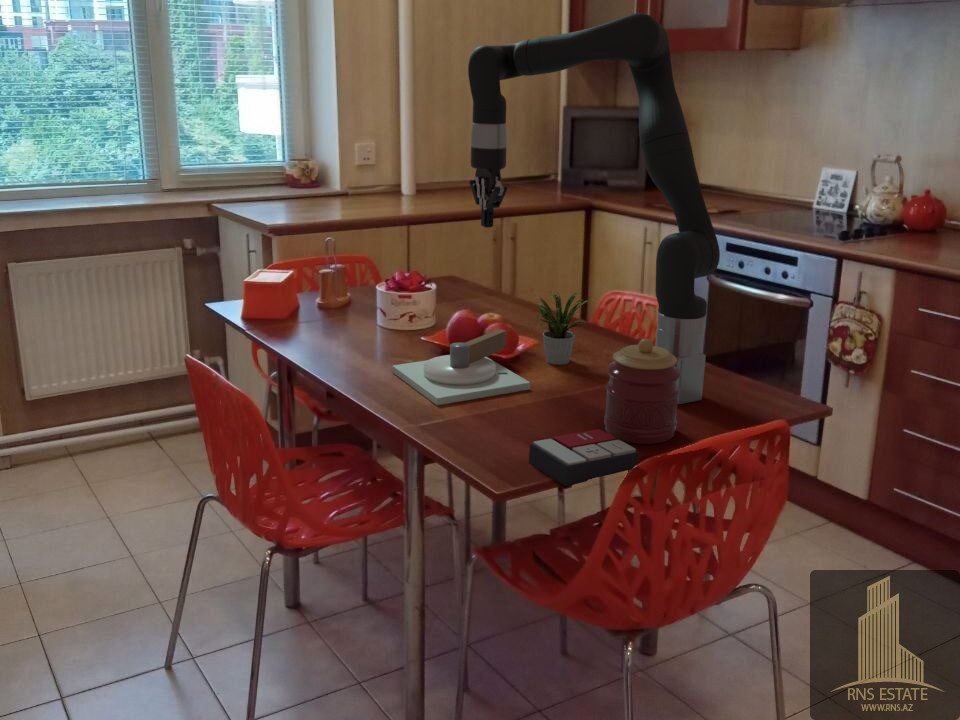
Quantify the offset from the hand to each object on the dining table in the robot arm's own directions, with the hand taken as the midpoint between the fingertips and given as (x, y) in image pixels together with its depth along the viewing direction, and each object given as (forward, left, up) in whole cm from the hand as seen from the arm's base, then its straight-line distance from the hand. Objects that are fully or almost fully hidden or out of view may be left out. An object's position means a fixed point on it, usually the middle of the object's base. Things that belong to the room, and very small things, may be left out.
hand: (487, 226), depth 204 cm
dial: (-11, +9, -28) cm, 31 cm away
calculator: (-59, +13, -30) cm, 68 cm away
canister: (-52, -4, -30) cm, 60 cm away
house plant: (-11, -14, -30) cm, 34 cm away
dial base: (-13, +13, -29) cm, 35 cm away
